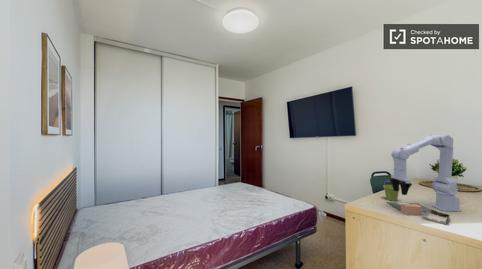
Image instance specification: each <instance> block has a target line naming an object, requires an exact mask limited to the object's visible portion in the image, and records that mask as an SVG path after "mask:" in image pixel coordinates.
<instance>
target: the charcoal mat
mask: <svg viewBox="0 0 482 269" xmlns="http://www.w3.org/2000/svg"><path fill="white" fill-rule="evenodd" d="M386 204H388V205H389V206H391V207H393V208H395V209H396V210H398V211H400V212H401V204H417V205H419V206H421V207H422V213H425V212H426V211H428V212H429V211H430V209H431V208H429V207H426V206H424V205H422V204H420V203H417V202H403V201H402V202H401V201H400V202H399V201H398V202H396V201H386Z"/></svg>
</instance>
